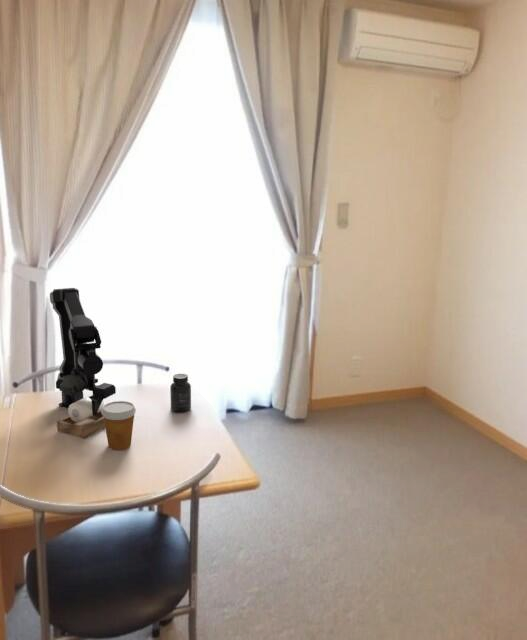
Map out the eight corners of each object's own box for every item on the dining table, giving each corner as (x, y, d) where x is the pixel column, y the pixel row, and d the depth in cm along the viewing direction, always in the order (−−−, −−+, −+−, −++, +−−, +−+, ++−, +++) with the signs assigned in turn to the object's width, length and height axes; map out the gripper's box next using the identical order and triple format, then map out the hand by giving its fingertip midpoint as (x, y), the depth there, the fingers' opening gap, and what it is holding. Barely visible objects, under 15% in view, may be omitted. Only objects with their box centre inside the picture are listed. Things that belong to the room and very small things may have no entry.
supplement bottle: (193, 406, 191) (193, 373, 188) (188, 414, 184) (188, 380, 181) (173, 404, 191) (173, 371, 188) (168, 412, 185) (167, 378, 182)
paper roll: (83, 424, 166) (82, 405, 165) (67, 420, 169) (66, 401, 167) (104, 413, 175) (104, 395, 173) (89, 409, 177) (89, 391, 176)
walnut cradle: (57, 431, 168) (56, 421, 168) (89, 414, 181) (89, 405, 180) (84, 438, 164) (84, 428, 164) (115, 421, 177) (115, 411, 176)
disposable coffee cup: (142, 441, 164) (142, 403, 161) (124, 455, 155) (123, 415, 152) (115, 435, 167) (113, 398, 164) (95, 449, 158) (94, 410, 155)
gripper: (40, 366, 164) (43, 416, 168) (90, 377, 157) (92, 428, 161) (68, 356, 174) (70, 403, 178) (116, 366, 167) (117, 415, 171)
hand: (86, 412), depth 172 cm, fingers closed on paper roll, 6 cm apart
